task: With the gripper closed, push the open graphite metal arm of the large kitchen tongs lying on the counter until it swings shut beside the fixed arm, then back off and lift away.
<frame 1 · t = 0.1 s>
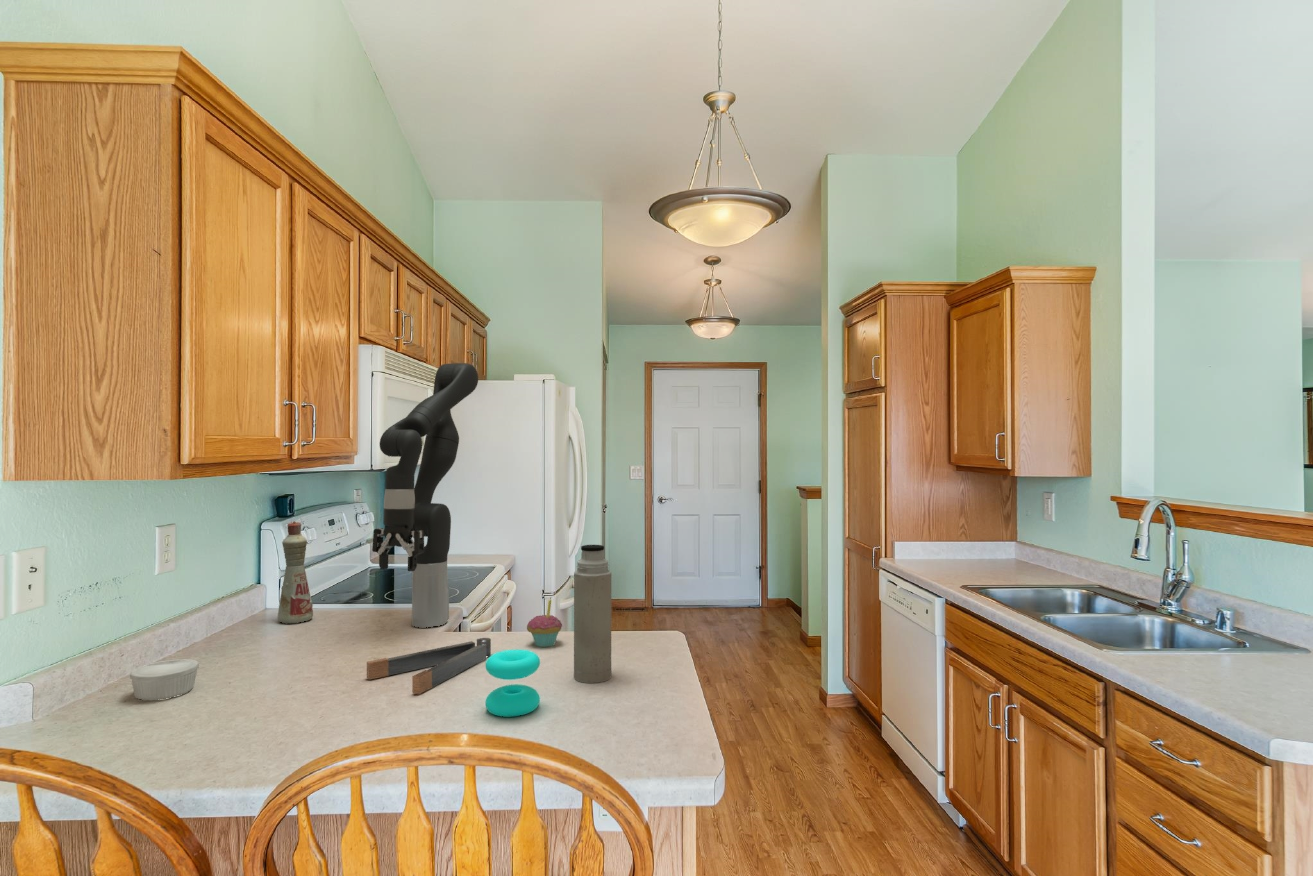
hand: (397, 570, 177), 17 cm above the countertop, tool pointing down, fingers open, 8 cm apart
donuts: (512, 709, 130), on the countertop
thermos bottle: (592, 677, 147), on the countertop
bottle: (295, 621, 194), on the countertop
cupcake: (544, 645, 171), on the countertop
tongs arm: (423, 659, 153), point 2 cm above the countertop, hinge at -30.0°
ramekin: (165, 694, 138), on the countertop
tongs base: (483, 656, 162), on the countertop
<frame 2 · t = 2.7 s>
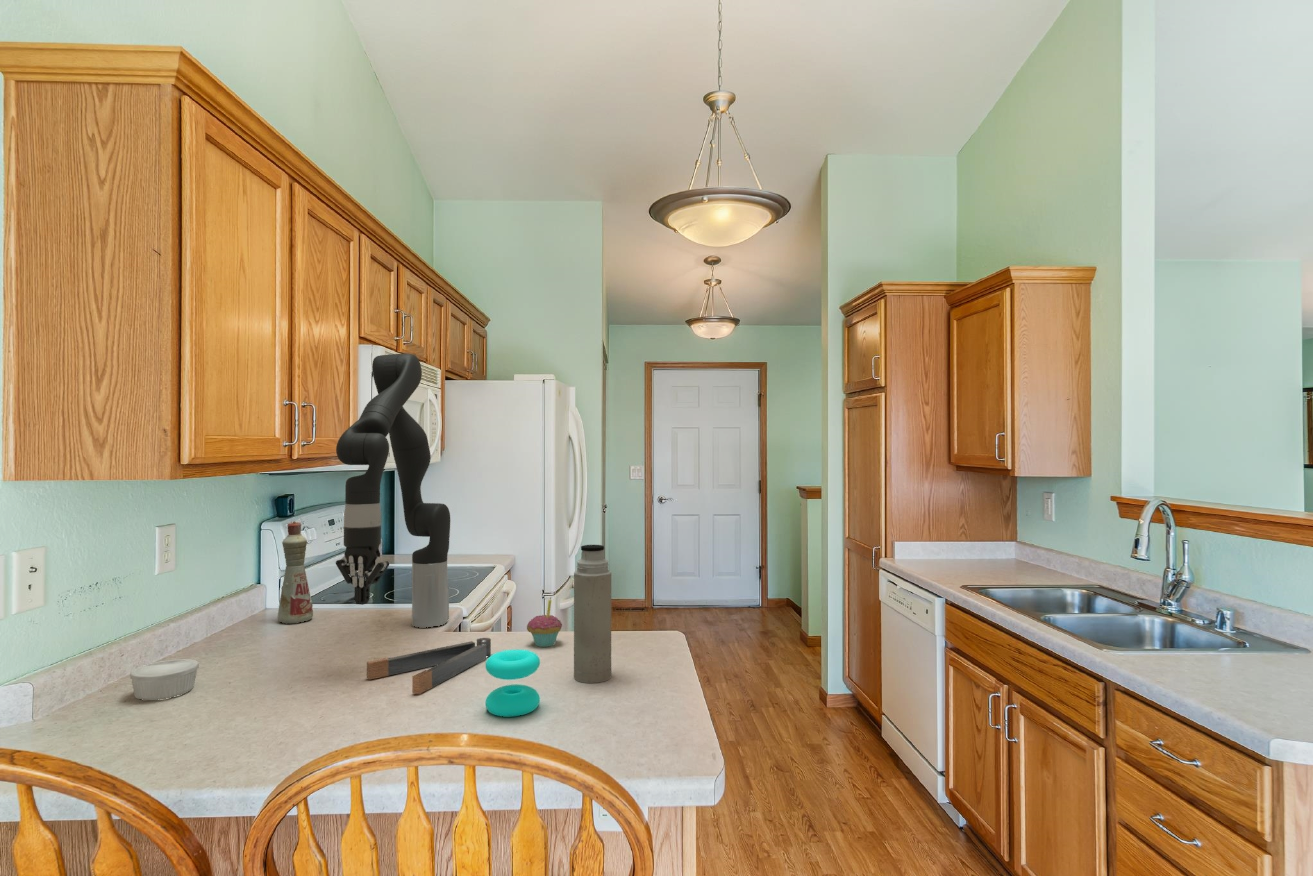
hand: (361, 603, 151), 15 cm above the countertop, tool pointing down, fingers closed
nothing on the countertop moved.
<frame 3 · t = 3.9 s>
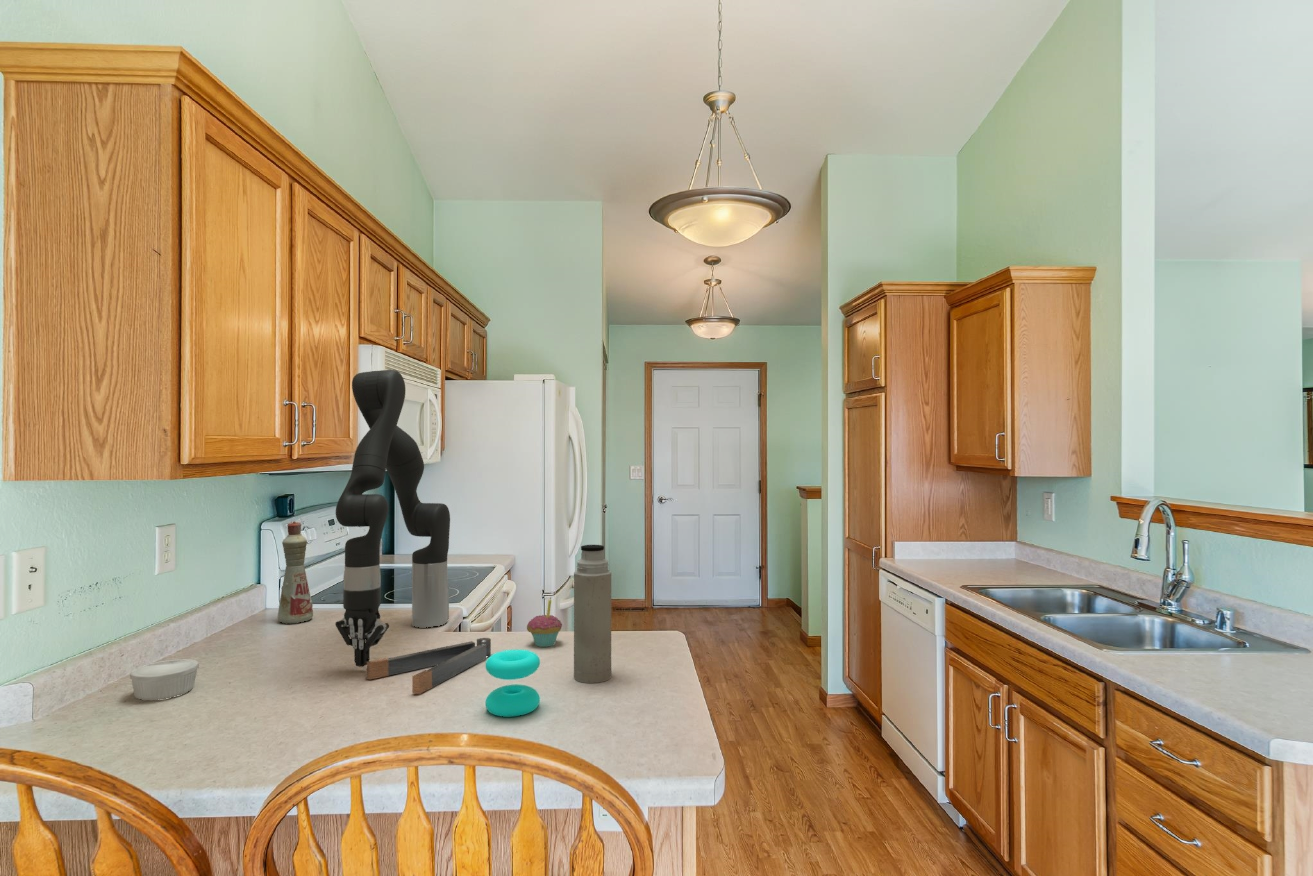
hand: (361, 665, 150), 1 cm above the countertop, tool pointing down, fingers closed
nothing on the countertop moved.
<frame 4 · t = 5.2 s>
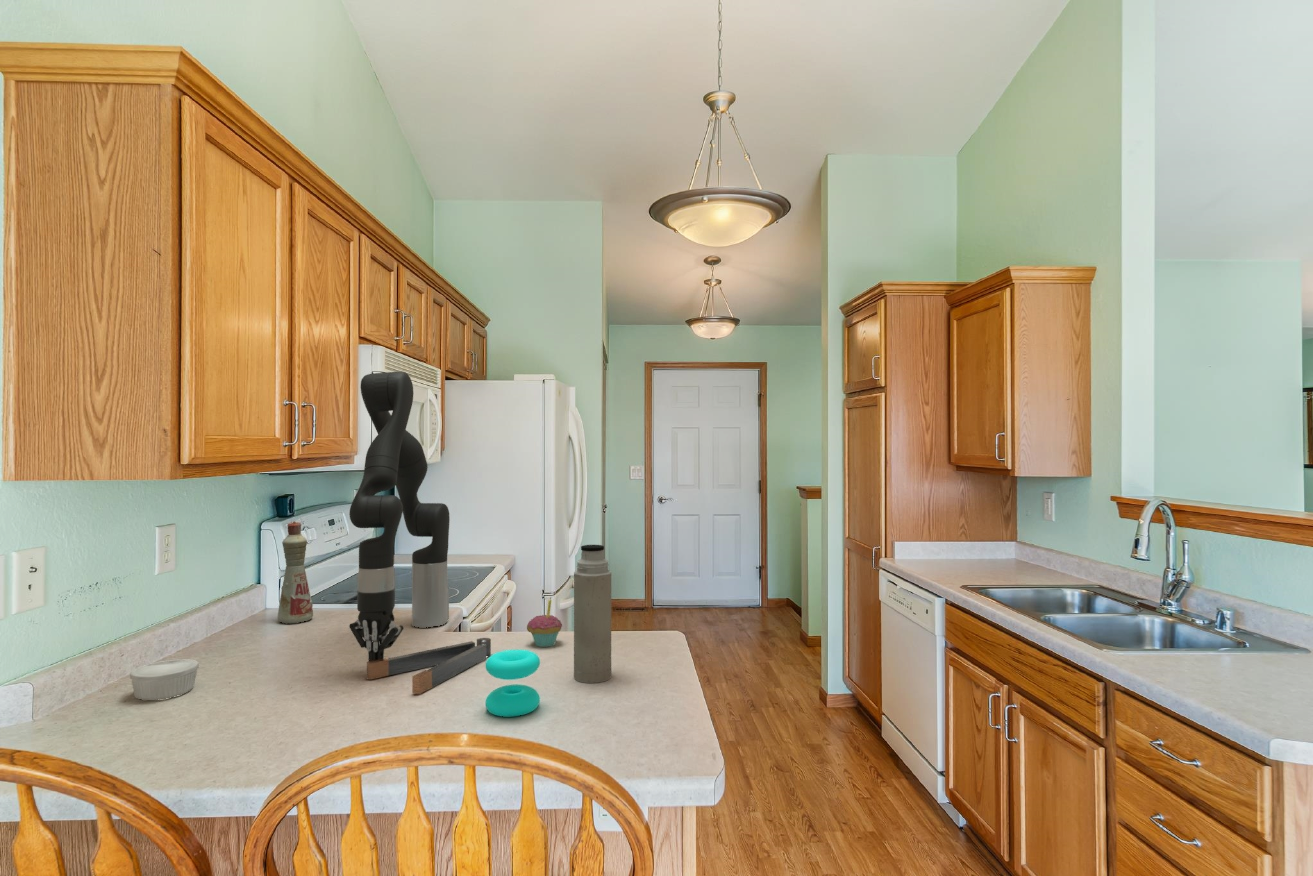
hand: (375, 667, 149), 1 cm above the countertop, tool pointing down, fingers closed
tongs arm: (423, 659, 153), point 2 cm above the countertop, hinge at -29.9°, touching gripper
everything else where it was.
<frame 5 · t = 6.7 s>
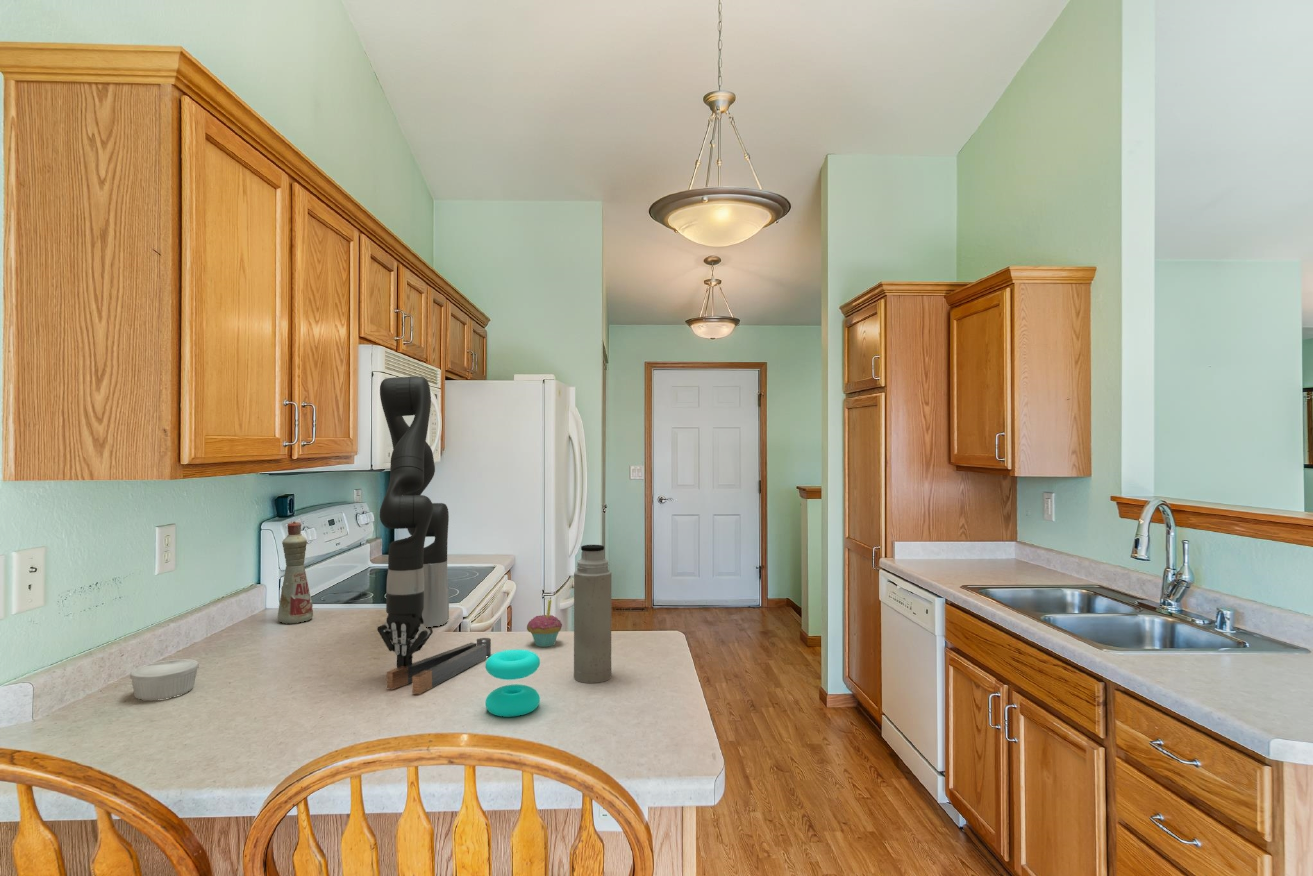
hand: (404, 671, 146), 1 cm above the countertop, tool pointing down, fingers closed
tongs arm: (434, 663, 150), point 2 cm above the countertop, hinge at -9.7°, touching gripper
everything else where it was.
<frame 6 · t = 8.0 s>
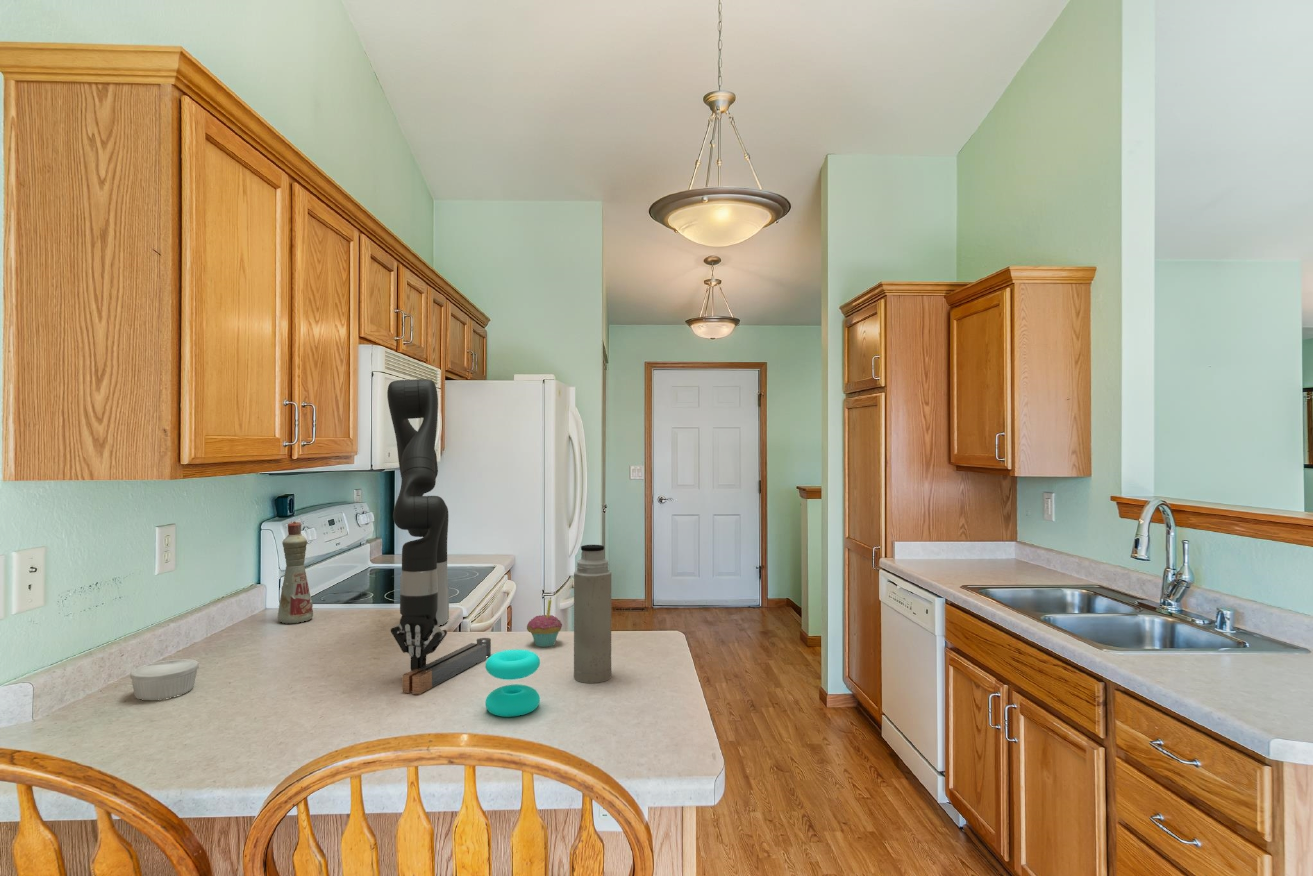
hand: (418, 673, 145), 1 cm above the countertop, tool pointing down, fingers closed
tongs arm: (442, 665, 149), point 2 cm above the countertop, hinge at 0.0°, touching gripper
everything else where it was.
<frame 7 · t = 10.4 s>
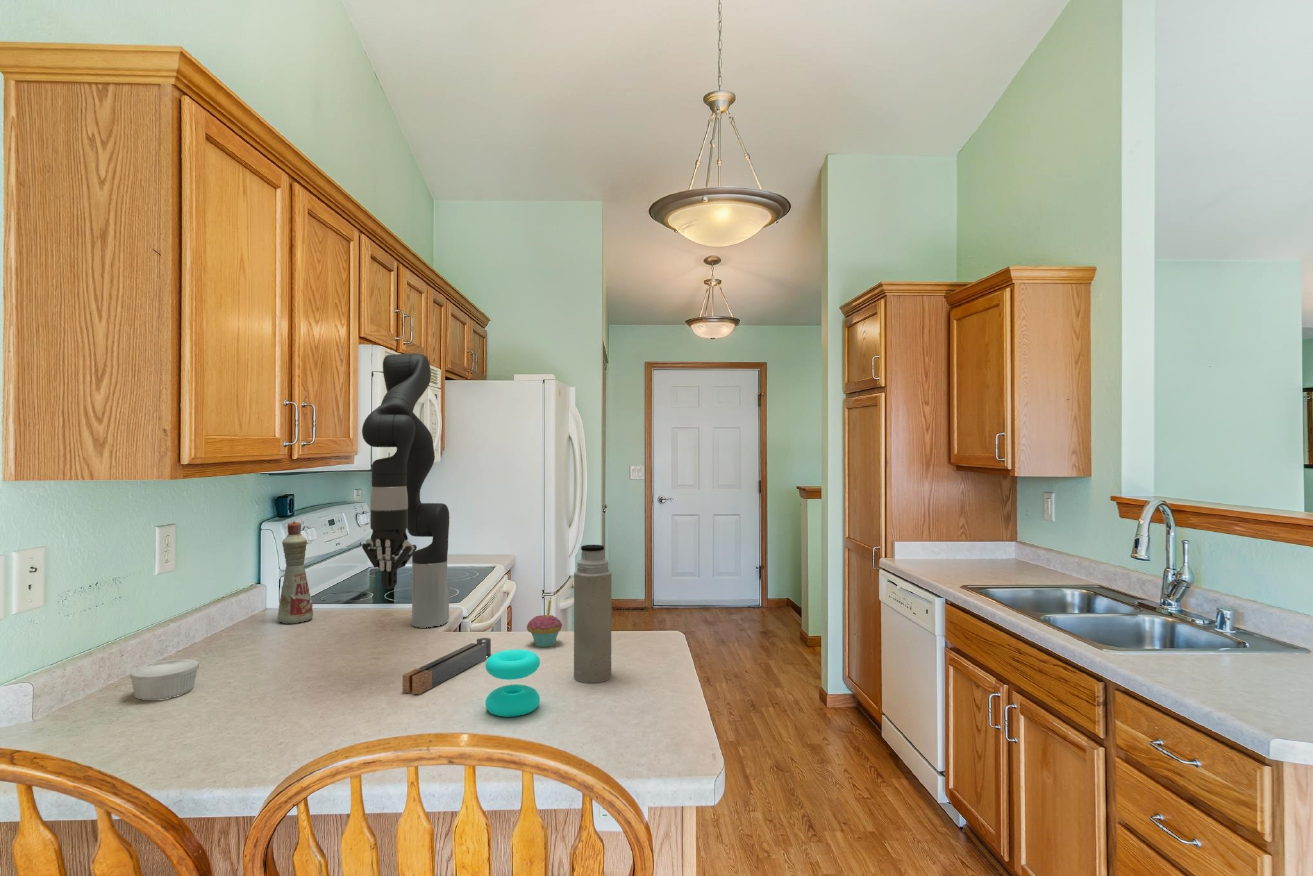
hand: (389, 587, 149), 19 cm above the countertop, tool pointing down, fingers closed
tongs arm: (442, 665, 149), point 2 cm above the countertop, hinge at 0.1°
everything else where it was.
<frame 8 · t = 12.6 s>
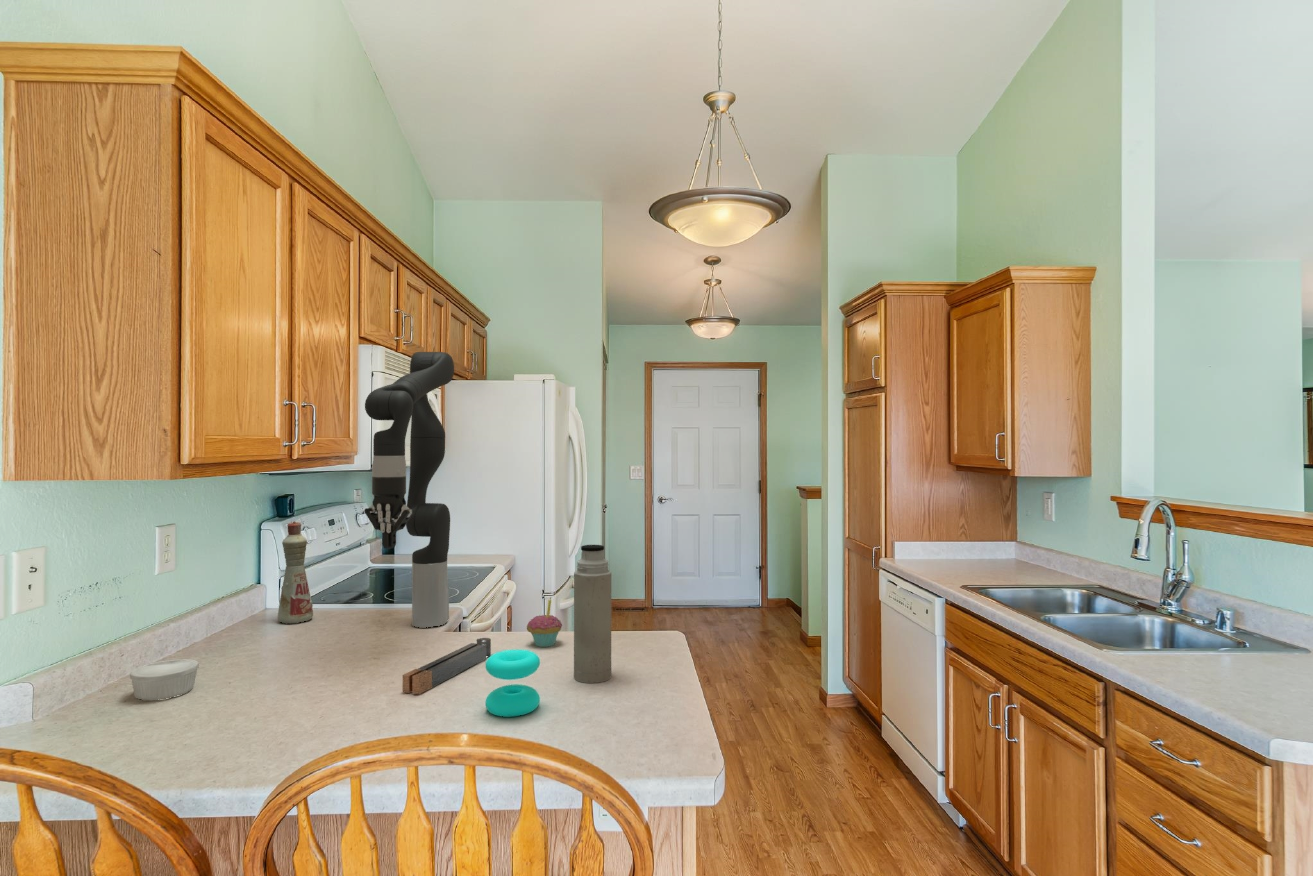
hand: (389, 548, 163), 25 cm above the countertop, tool pointing down, fingers closed
nothing on the countertop moved.
at the end: tongs arm at +0° (first picture: -30°); the gripper is holding nothing; cupcake moved 0.2 cm from its start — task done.
